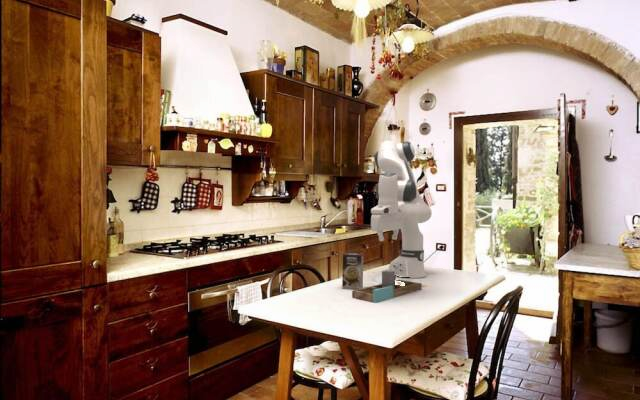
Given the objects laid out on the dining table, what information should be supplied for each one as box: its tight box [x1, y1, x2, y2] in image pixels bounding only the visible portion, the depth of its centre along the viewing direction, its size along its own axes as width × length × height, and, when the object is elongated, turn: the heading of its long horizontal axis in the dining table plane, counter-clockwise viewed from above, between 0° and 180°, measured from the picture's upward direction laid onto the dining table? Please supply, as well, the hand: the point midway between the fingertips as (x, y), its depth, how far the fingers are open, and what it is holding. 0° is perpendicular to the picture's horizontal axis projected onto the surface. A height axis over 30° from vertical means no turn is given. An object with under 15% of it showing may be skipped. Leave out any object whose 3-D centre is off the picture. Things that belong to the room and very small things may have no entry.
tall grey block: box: [381, 269, 396, 290], centre depth 204 cm, size 4×4×10 cm
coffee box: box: [341, 252, 364, 290], centre depth 216 cm, size 9×6×16 cm
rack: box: [351, 279, 422, 304], centre depth 204 cm, size 12×35×5 cm, turn 135°
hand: (388, 240), depth 204 cm, fingers open, 8 cm apart
